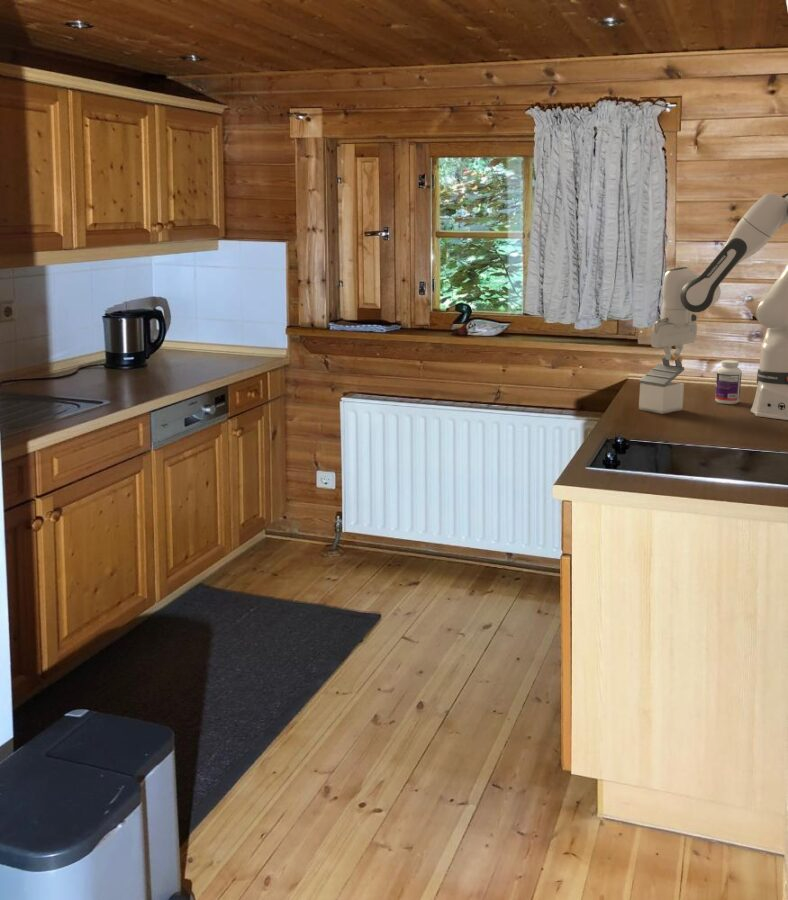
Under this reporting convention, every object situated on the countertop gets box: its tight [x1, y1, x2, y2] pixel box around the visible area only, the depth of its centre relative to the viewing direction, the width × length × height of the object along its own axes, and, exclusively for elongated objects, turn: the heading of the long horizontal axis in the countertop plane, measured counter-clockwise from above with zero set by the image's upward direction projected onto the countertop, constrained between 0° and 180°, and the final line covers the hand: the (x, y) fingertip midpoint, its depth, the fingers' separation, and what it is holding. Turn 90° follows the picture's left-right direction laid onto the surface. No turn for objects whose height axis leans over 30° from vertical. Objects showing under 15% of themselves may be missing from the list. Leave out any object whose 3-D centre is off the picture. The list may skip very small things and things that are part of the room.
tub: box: [638, 381, 685, 415], centre depth 351 cm, size 9×11×9 cm
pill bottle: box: [714, 359, 742, 405], centre depth 362 cm, size 8×8×14 cm
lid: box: [638, 354, 685, 387], centre depth 349 cm, size 14×10×4 cm
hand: (672, 358), depth 351 cm, fingers open, 3 cm apart
